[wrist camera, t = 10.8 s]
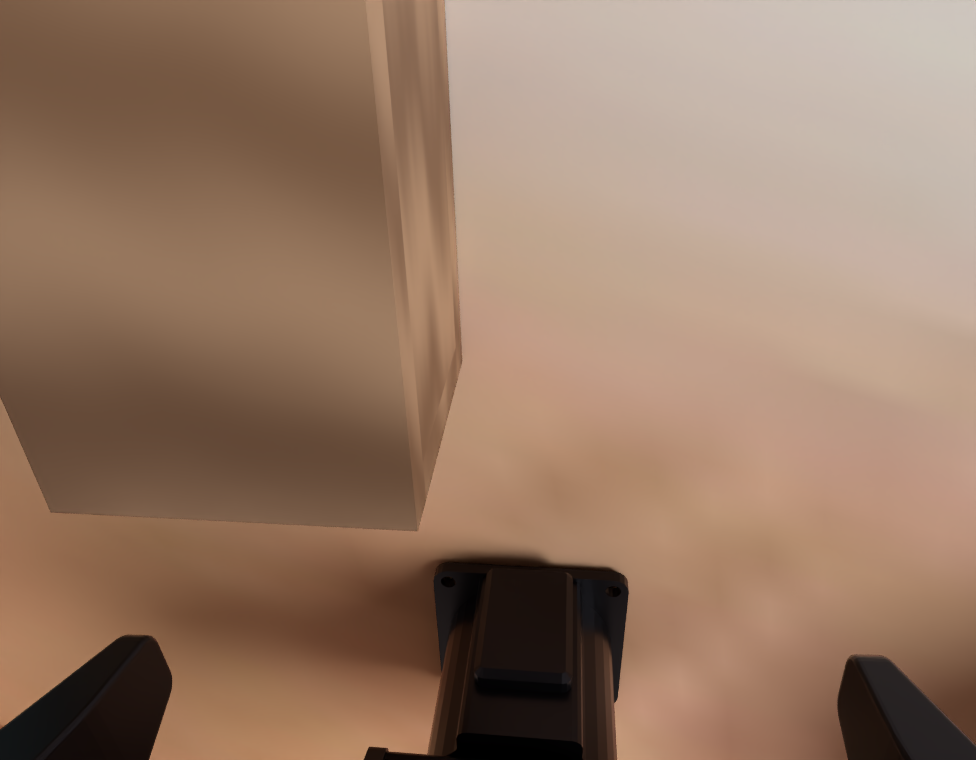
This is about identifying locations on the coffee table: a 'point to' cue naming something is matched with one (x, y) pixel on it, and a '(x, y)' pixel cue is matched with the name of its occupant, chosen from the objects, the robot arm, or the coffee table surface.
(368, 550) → the coffee table surface
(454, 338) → the brown legged block
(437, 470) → the coffee table surface
